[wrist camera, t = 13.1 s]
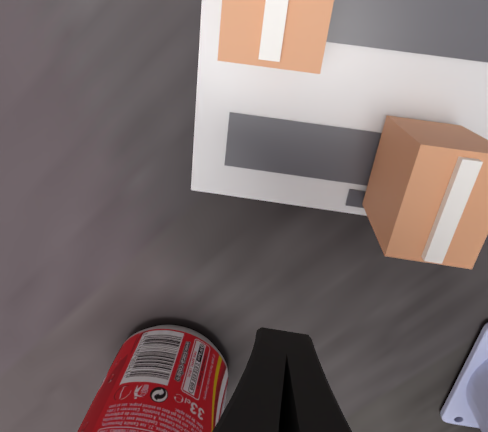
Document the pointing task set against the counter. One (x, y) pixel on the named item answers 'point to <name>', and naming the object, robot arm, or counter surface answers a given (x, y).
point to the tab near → (275, 33)
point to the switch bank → (336, 100)
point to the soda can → (161, 385)
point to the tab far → (429, 192)
